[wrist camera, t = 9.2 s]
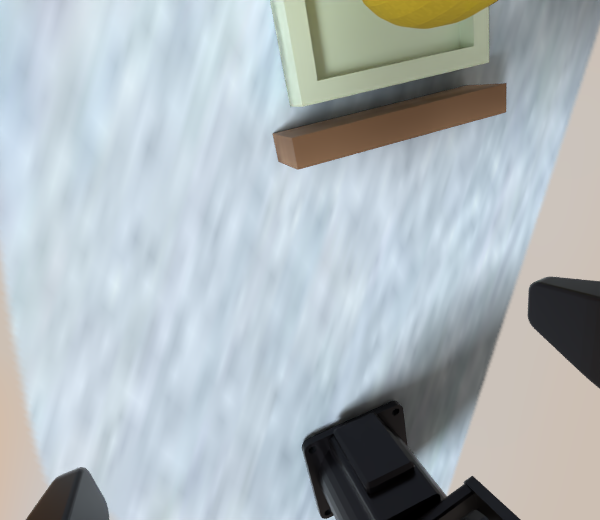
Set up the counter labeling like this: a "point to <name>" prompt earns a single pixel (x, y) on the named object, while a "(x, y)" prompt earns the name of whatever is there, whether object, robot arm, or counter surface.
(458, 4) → the lemon
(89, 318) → the counter surface
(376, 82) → the dish
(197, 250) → the counter surface
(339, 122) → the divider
